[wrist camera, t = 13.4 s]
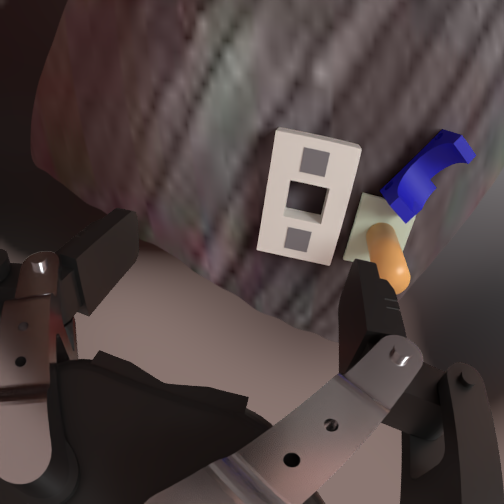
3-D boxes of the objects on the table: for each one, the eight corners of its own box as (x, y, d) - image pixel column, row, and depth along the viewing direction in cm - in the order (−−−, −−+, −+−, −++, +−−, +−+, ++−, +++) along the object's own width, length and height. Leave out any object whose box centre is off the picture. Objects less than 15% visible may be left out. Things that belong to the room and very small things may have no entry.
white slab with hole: (278, 127, 37) (275, 130, 34) (358, 144, 36) (361, 149, 33) (260, 239, 45) (256, 250, 43) (329, 254, 44) (329, 266, 42)
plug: (372, 218, 40) (383, 259, 31) (400, 227, 39) (416, 270, 31) (361, 244, 42) (368, 290, 34) (388, 253, 42) (400, 299, 33)
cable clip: (401, 214, 39) (413, 232, 33) (379, 190, 38) (389, 205, 32) (462, 155, 33) (482, 165, 28) (442, 129, 32) (461, 135, 27)
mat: (362, 192, 39) (363, 193, 38) (417, 207, 38) (418, 208, 38) (343, 257, 44) (343, 259, 44) (393, 268, 43) (394, 271, 43)
